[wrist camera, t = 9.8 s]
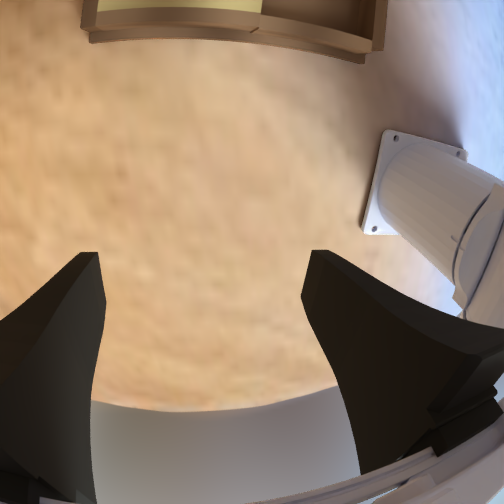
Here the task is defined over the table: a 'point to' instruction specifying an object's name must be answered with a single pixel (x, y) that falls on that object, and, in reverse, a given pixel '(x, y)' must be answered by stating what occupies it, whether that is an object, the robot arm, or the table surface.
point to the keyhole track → (246, 23)
